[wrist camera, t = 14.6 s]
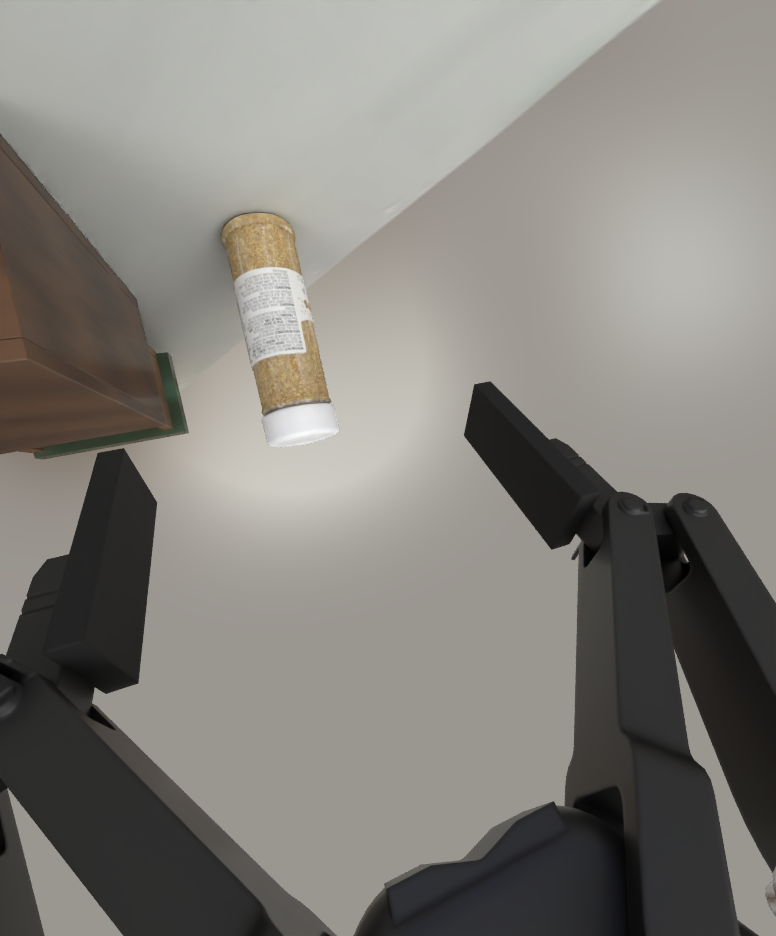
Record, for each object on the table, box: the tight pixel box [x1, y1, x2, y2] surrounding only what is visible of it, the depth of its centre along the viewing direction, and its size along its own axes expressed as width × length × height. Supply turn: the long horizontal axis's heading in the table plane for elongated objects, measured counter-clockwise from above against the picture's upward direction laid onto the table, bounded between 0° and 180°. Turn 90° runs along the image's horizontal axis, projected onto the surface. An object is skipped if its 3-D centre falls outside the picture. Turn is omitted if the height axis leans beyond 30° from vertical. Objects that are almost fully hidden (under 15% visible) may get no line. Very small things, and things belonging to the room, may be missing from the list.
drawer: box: [19, 344, 189, 459], centre depth 32 cm, size 20×12×8 cm, turn 166°
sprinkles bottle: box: [221, 213, 339, 447], centre depth 24 cm, size 5×5×13 cm
